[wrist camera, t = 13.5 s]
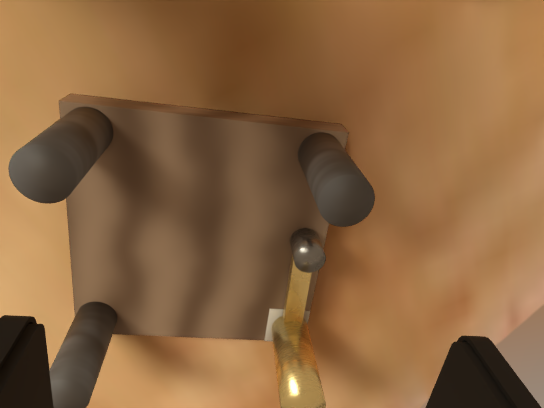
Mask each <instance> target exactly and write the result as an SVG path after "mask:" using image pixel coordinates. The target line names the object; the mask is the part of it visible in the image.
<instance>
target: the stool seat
mask: <svg viewBox="0 0 544 408" xmlns="http://www.w3.org/2000/svg"><path fill="white" fill-rule="evenodd" d="M59 109H60V120H58V121H57V122H55V123H54V124H53V125H51V126H50V127H49V128H47V129H46V130H45V131H43V132H42V133H41V134H39V135H38V136H37V137H35V138H34V139H33V140H31V141H30V142H29V143H27V144H26V145H25V146H23V147H22V148H20V149H19V150H18V151H16V152H15V154H14V155H13V156H12V158H11V160H10V163H9V175H10V178H11V181H12V183H13V184H14V186H15V187H16V188H17V190H18V191H19V192H20V193H22V194H23V195H24V196H26V197H27V198H29V199H31V200H33V201H36V202H40V203H56V202H60V201H62V200H64V199H65V198H66V203H67V216H68V230H69V243H70V257H71V270H72V283H73V297H74V310H75V318H74V320H73V322H72V325H71V327H70V329H69V331H68V333H67V335H66V337H65V339H64V341H63V343H62V345H61V348H60V350H59V352H58V354H57V356H56V358H55V360H54V362H53V364H52V366H51V368H50V371H49V372H50V380H51V389H52V398H53V407H54V408H86V407H87V405H88V404H89V401H90V398H91V395H92V392H93V389H94V387H95V384H96V381H97V378H98V375H99V372H100V369H101V366H102V363H103V360H104V358H105V355H106V352H107V349H108V346H109V343H110V340H111V337H112V334H123V335H148V336H172V337H196V338H221V339H245V340H264V341H273V340H272V332H271V328H272V324H273V323H274V321H275V320H276V319H278V318H279V317H281V316H282V315H283V309H284V303H285V296H286V290H287V284H288V277H289V271H290V265H291V258H292V250H291V246H290V238H291V236H292V234H293V233H294V232H295V231H297V230H299V229H302V228H309V229H312V230H314V231H315V232H316V233H317V234H318V237H319V239H320V242H321V245H322V248H323V249H324V245H325V240H326V235H327V231H328V226H329V223H330V224H332V225H335V226H340V227H346V226H352V225H355V224H357V223H359V222H361V221H362V220H363V219H365V218H366V217H367V216H368V214H369V213H370V212H371V210H372V208H373V205H374V201H375V195H374V191H373V188H372V186H371V185H370V183H369V182H368V181H367V179H366V178H365V177H364V175H363V174H362V172H361V171H360V170H359V168H358V167H357V166H356V164H355V163H354V161H353V160H352V159H351V157H350V156H349V155H348V153H347V152H346V151H345V147H346V143H347V138H348V134H349V132H348V131H347V130H346V129H345V128H344V126H343V125H342V124H336V123H327V122H318V121H309V120H300V119H291V118H282V117H273V116H264V115H255V114H247V113H238V112H229V111H220V110H211V109H202V108H193V107H184V106H175V105H166V104H157V103H149V102H140V101H131V100H122V99H113V98H104V97H95V96H86V95H77V94H69V95H67V96H66V97H64V98H63V99H61V100H59ZM318 272H319V270H317V271H315V272H312V274H311V279H310V284H309V290H308V295H307V301H306V306H305V312H304V317H303V318H304V319H305V320H306V322H307V324H308V320H309V315H310V309H311V305H312V300H313V295H314V291H315V286H316V281H317V277H318Z"/></svg>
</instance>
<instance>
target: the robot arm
mask: <svg viewBox="0 0 544 408" xmlns="http://www.w3.org/2000/svg"><path fill="white" fill-rule="evenodd" d="M0 408H54V407H53V398H52V389H51V380H50V372H49V363H48V354H47V345H46V337H45V328H44V325H43V324H37V323H36V319H35V318H34V317H31V316H8V315H4V316H2V317H1V318H0ZM426 408H541V407H540V405H539V404H538V403H537V401H536V400H535V399H534V397H533V396H532V395H531V393H530V392H529V391H528V389H527V388H526V387H525V385H524V384H523V383H522V381H521V380H520V379H519V377H518V376H517V375H516V373H515V372H514V371H513V369H512V368H511V367H510V366H509V364H508V363H507V361H506V360H505V359H504V357H503V356H502V355H501V353H500V352H499V351H498V349H497V348H496V347H495V345H494V344H493V343H492V341H491V340H490V339H489V338H487V337H480V336H461V337H460V338H459V339H458V341H457V342H454V343H453V344H452V345H451V348H450V350H449V352H448V355H447V357H446V360H445V362H444V364H443V367H442V369H441V372H440V374H439V377H438V379H437V381H436V384H435V386H434V389H433V391H432V394H431V396H430V398H429V401H428V403H427V406H426Z"/></svg>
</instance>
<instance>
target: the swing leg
mask: <svg viewBox="0 0 544 408" xmlns="http://www.w3.org/2000/svg"><path fill="white" fill-rule="evenodd" d="M290 246H291V250H292V258H291V265H290V271H289V277H288V284H287V290H286V296H285V303H284V309H283V315H282V316H281V317H279V318H278V319H276V320H275V321H274V323H273V324H272V328H271V332H272V340H273V349H274V357H275V365H276V373H277V381H278V390H279V398H280V406H281V408H325V407H326V402H325V398H324V394H323V390H322V385H321V381H320V377H319V372H318V368H317V364H316V359H315V355H314V351H313V347H312V342H311V338H310V334H309V329H308V325H307V322H306V320H305V319H304V318H303V317H304V312H305V306H306V301H307V295H308V290H309V284H310V279H311V274H312V272H315V271H317V270H319V269H320V268H321V267H322V266H323V265H324V263H325V259H326V257H325V253H324V251H323V248H322V245H321V242H320V239H319V237H318V234H317V233H316V232H315V231H314V230H312V229H309V228H302V229H299V230H297V231H295V232H294V233H293V234H292V236H291V238H290Z"/></svg>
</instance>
